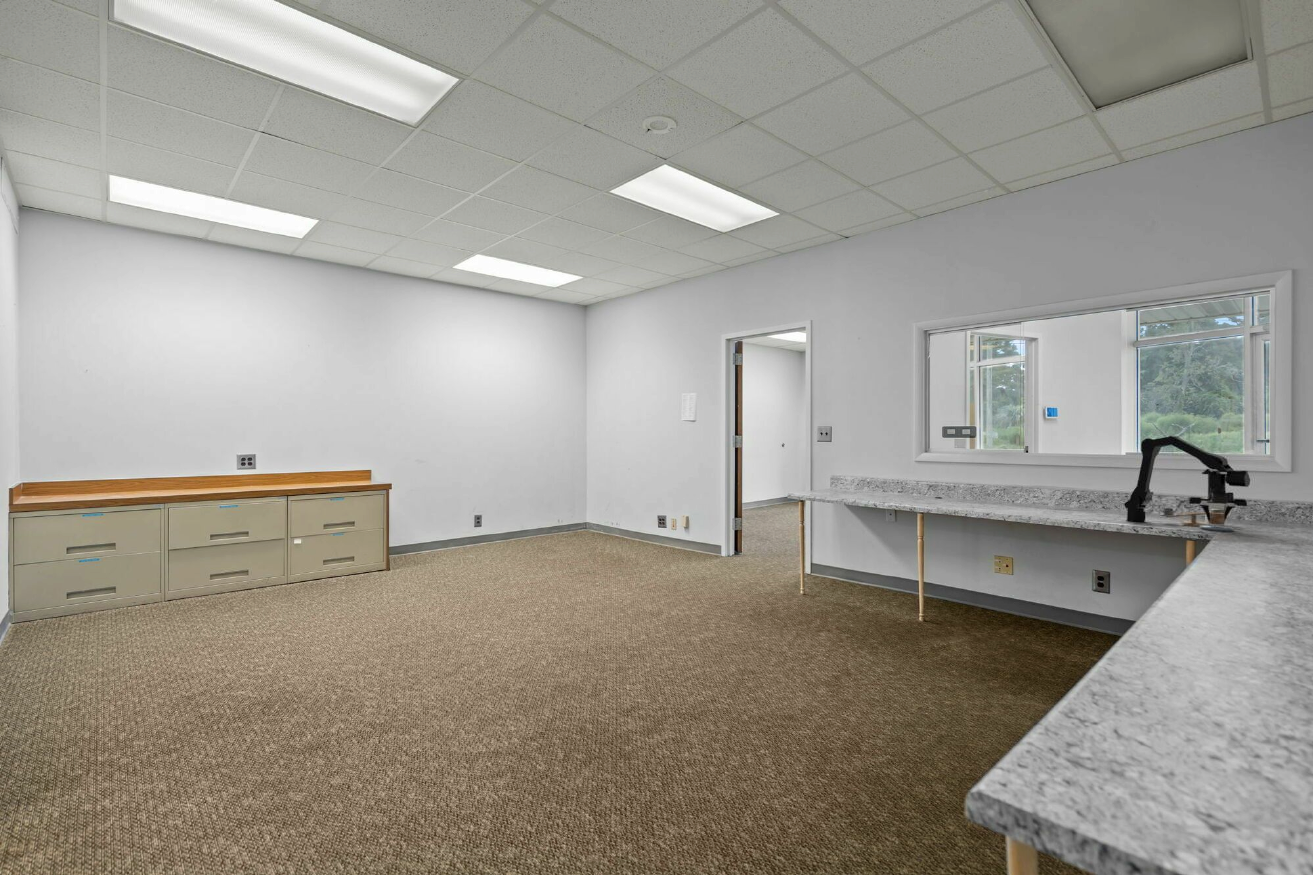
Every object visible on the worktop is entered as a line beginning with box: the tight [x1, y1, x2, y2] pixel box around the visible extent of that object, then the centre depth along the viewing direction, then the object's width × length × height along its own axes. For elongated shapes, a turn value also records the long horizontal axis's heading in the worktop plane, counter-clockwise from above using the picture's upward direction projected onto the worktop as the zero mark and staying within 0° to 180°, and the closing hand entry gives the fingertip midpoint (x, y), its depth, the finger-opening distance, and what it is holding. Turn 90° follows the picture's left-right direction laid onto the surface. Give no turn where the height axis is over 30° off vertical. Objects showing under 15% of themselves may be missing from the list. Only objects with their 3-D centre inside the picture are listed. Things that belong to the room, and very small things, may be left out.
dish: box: [1199, 524, 1235, 532], centre depth 273 cm, size 11×11×1 cm
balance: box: [1159, 506, 1224, 527], centre depth 286 cm, size 24×6×8 cm, turn 57°
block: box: [1208, 512, 1225, 526], centre depth 273 cm, size 4×4×4 cm
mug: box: [1204, 497, 1235, 526], centre depth 287 cm, size 10×7×12 cm, turn 54°
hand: (1216, 521), depth 273 cm, fingers closed on block, 4 cm apart
